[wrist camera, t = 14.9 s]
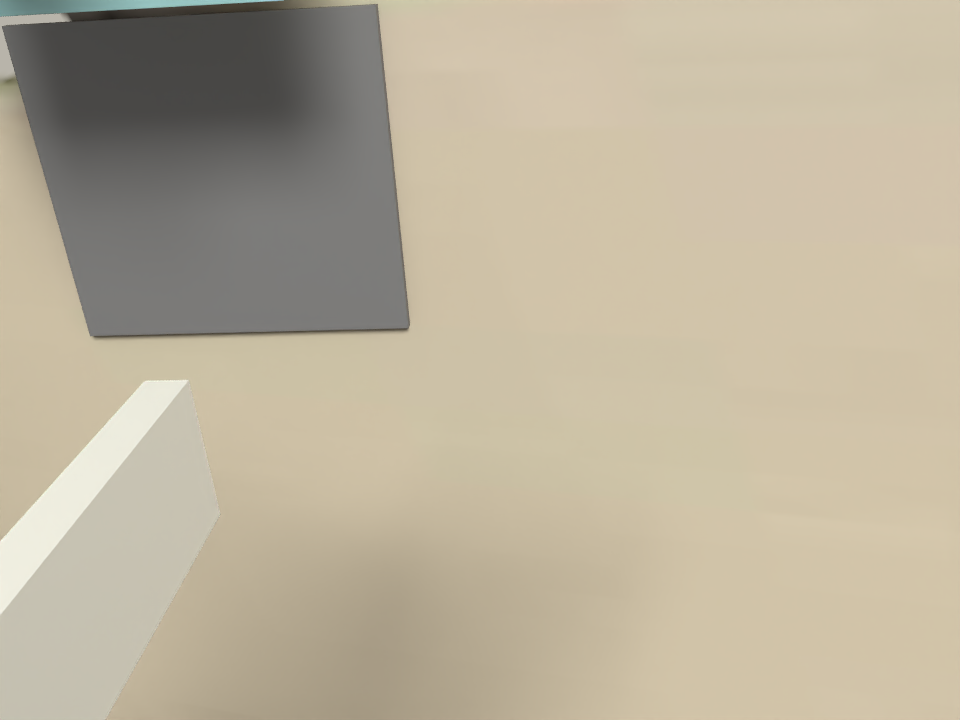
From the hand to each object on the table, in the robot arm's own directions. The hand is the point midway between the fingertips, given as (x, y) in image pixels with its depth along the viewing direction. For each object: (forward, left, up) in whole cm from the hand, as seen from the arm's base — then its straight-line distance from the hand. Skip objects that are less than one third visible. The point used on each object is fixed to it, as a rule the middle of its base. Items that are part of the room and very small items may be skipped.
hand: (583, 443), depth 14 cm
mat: (-19, -4, -35) cm, 40 cm away
